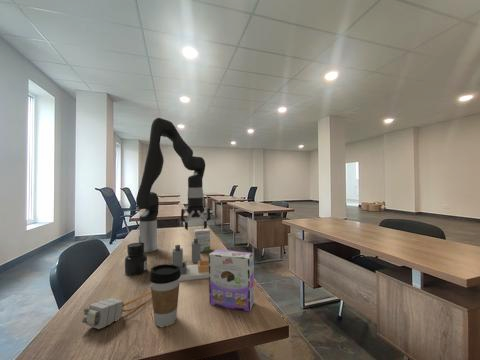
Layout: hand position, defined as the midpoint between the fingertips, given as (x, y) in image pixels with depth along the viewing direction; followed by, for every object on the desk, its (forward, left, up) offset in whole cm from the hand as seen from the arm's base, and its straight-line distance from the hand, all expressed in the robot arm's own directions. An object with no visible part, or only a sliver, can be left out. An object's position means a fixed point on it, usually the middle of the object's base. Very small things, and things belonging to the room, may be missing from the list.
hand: (195, 229), depth 111 cm
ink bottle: (-26, -7, -16) cm, 31 cm away
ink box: (+4, +16, -16) cm, 23 cm away
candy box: (+10, -42, -16) cm, 46 cm away
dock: (-2, -15, -16) cm, 22 cm away
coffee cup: (-10, -46, -16) cm, 50 cm away
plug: (0, 0, -16) cm, 16 cm away
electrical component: (-22, -37, -16) cm, 46 cm away
